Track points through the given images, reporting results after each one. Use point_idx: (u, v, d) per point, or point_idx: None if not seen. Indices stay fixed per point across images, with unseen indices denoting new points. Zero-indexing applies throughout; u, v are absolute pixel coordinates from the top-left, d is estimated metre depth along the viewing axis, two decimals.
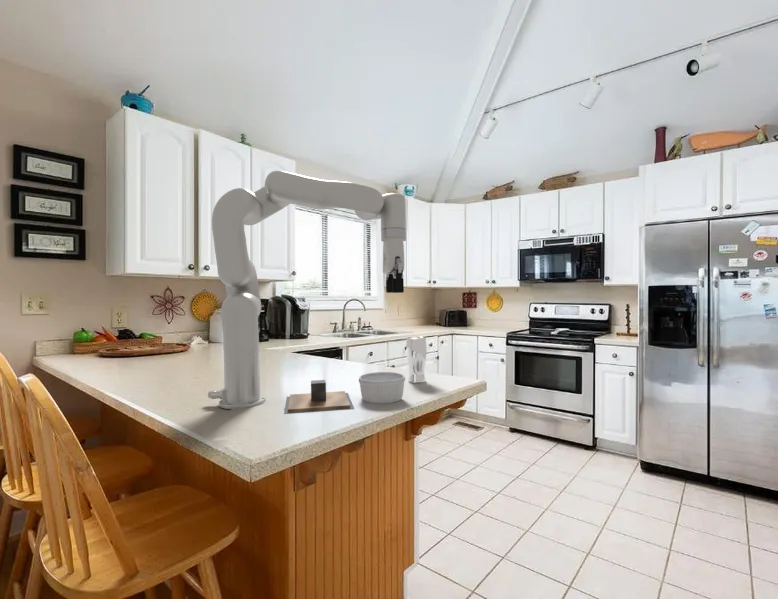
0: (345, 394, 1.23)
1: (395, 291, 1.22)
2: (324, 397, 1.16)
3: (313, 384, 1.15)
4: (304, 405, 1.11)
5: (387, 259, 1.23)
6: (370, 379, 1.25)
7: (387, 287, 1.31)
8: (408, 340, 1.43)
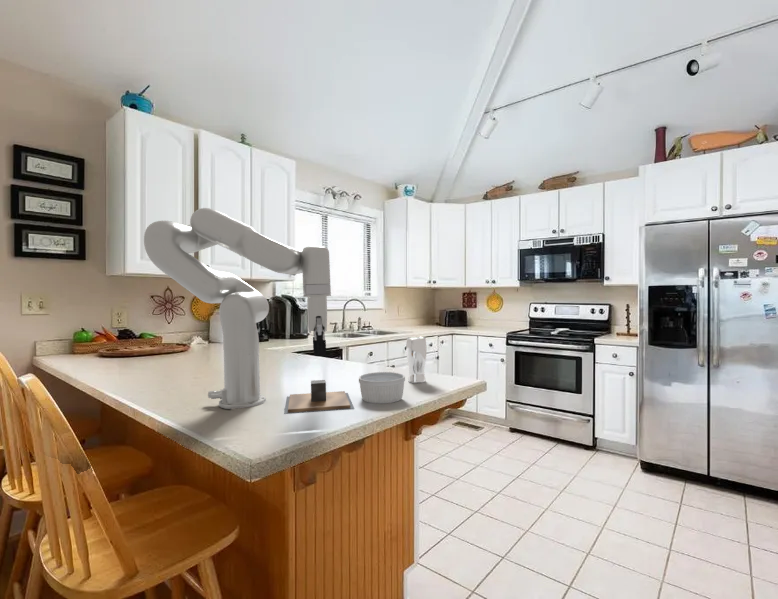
0: (345, 394, 1.23)
1: (316, 354, 1.12)
2: (324, 397, 1.16)
3: (313, 384, 1.15)
4: (304, 405, 1.11)
5: (308, 319, 1.13)
6: (370, 379, 1.25)
7: (314, 345, 1.21)
8: (408, 340, 1.43)
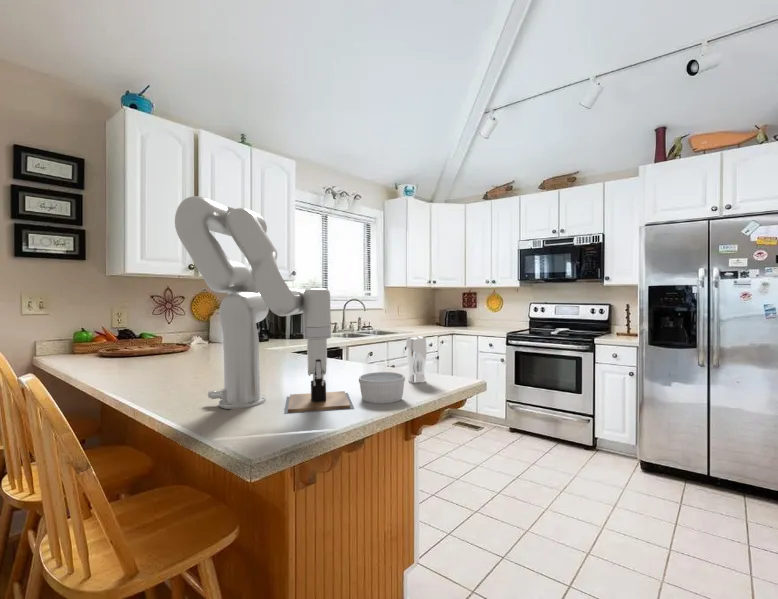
0: (345, 394, 1.23)
1: (315, 399, 1.14)
2: None
3: (313, 384, 1.15)
4: (304, 405, 1.11)
5: (308, 361, 1.13)
6: (370, 379, 1.25)
7: None
8: (408, 340, 1.43)
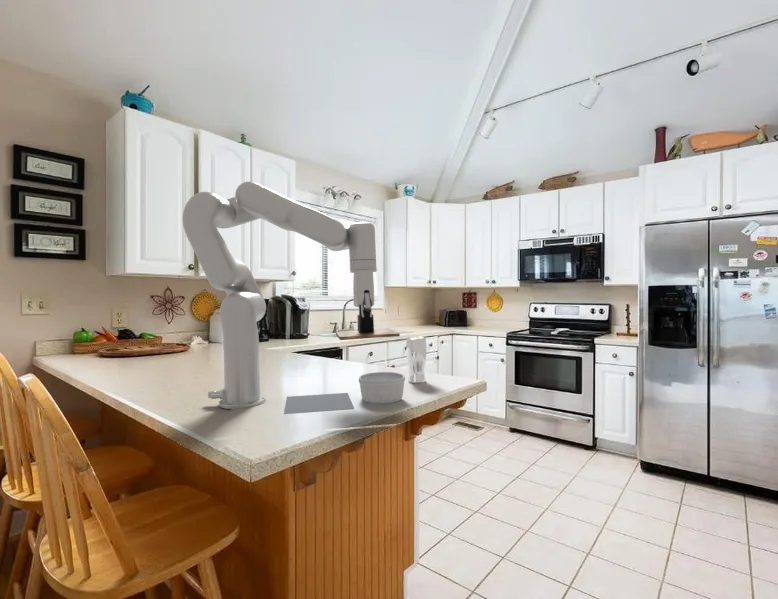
0: (390, 329, 1.25)
1: (364, 331, 1.17)
2: None
3: (361, 316, 1.17)
4: (354, 335, 1.14)
5: (356, 293, 1.15)
6: (370, 379, 1.25)
7: None
8: (408, 340, 1.43)
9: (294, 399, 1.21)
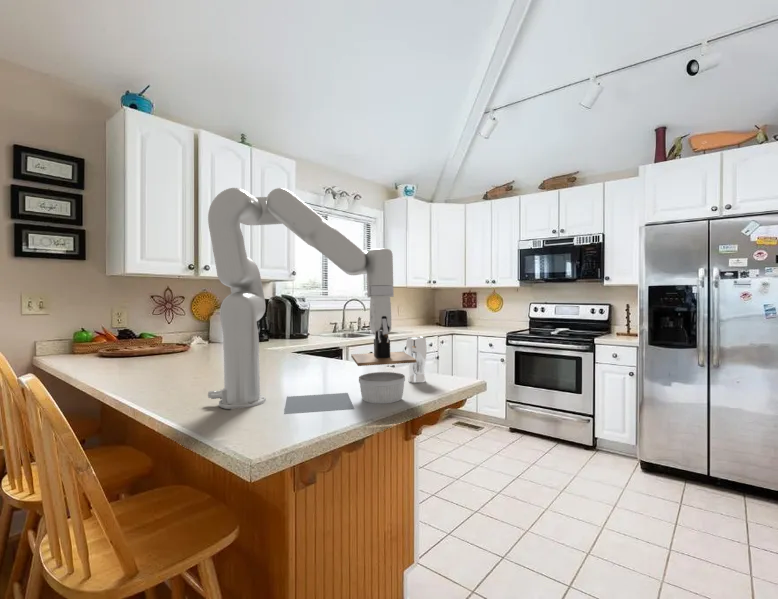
0: (405, 353, 1.26)
1: (380, 356, 1.18)
2: None
3: None
4: (371, 360, 1.15)
5: (373, 318, 1.17)
6: (370, 379, 1.25)
7: None
8: (408, 340, 1.43)
9: (294, 399, 1.21)
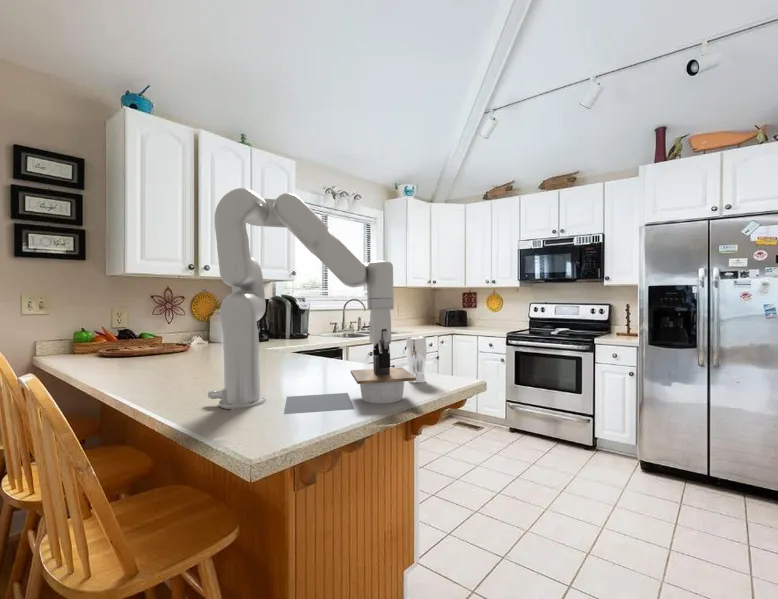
0: None
1: (381, 366, 1.16)
2: (388, 371, 1.19)
3: (377, 358, 1.18)
4: (371, 378, 1.15)
5: (373, 331, 1.17)
6: None
7: None
8: (408, 340, 1.43)
9: (294, 399, 1.21)
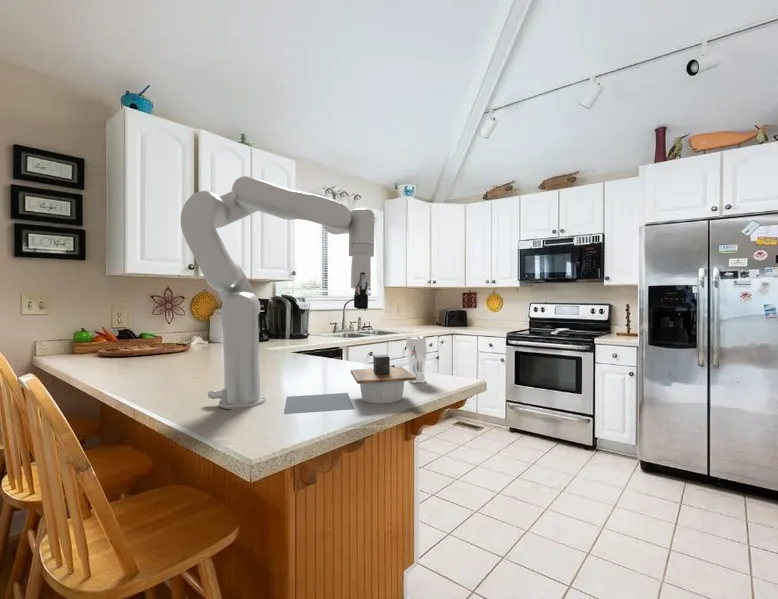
0: None
1: (359, 307, 1.21)
2: (388, 371, 1.19)
3: (377, 358, 1.19)
4: (371, 377, 1.15)
5: (352, 275, 1.22)
6: None
7: (355, 302, 1.30)
8: (408, 340, 1.43)
9: (294, 399, 1.21)
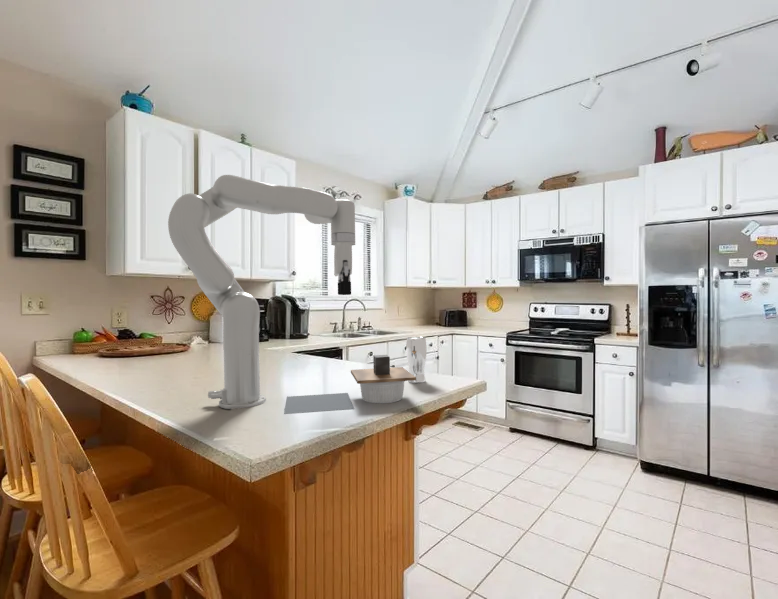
0: None
1: (343, 293, 1.27)
2: (388, 371, 1.19)
3: (378, 358, 1.19)
4: (371, 377, 1.15)
5: (335, 263, 1.28)
6: None
7: (339, 289, 1.36)
8: (408, 340, 1.43)
9: (294, 399, 1.21)
